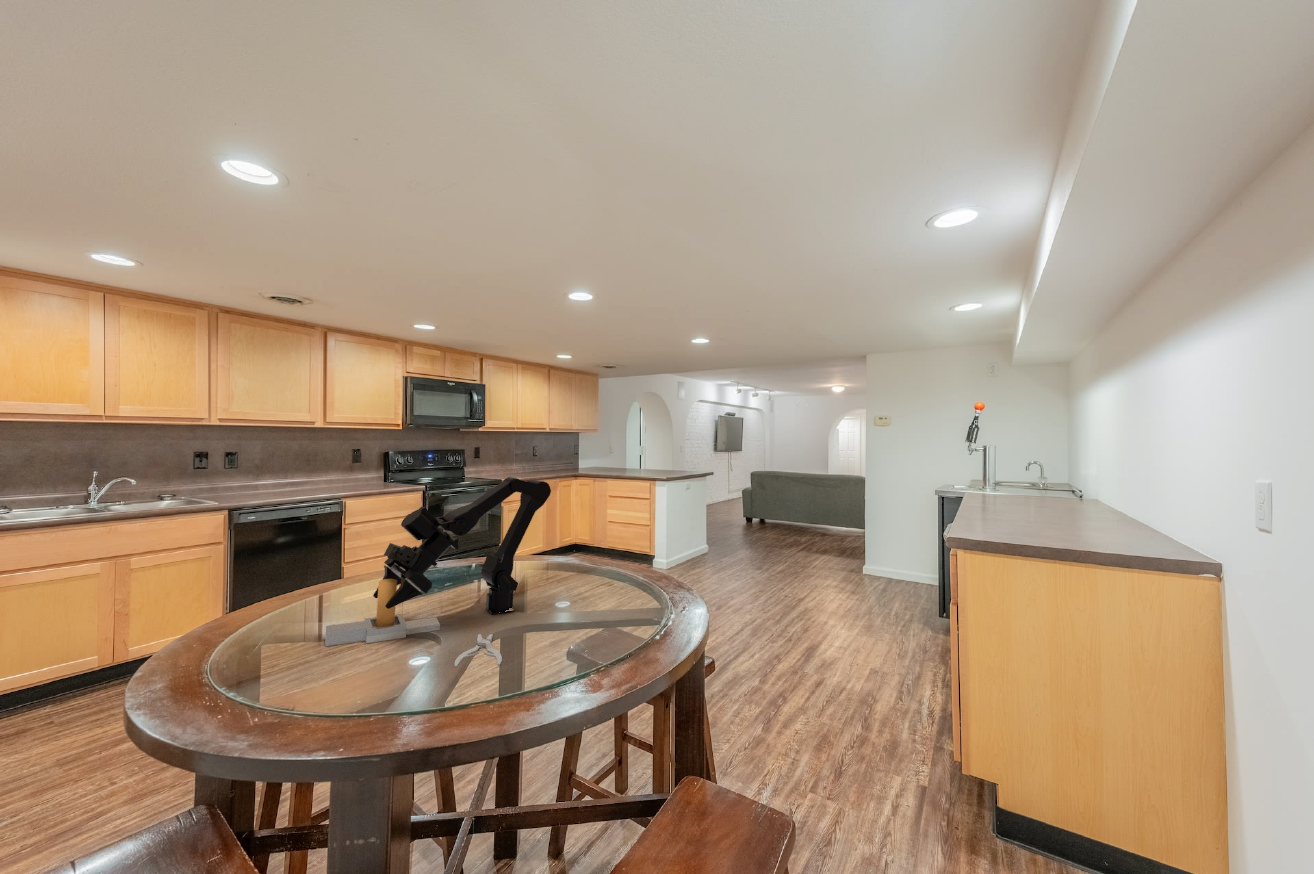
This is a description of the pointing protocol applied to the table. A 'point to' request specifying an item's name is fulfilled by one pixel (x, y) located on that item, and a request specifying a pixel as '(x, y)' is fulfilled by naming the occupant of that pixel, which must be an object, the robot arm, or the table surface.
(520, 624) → the table surface
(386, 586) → the pin
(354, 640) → the grey peg socket block
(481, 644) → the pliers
